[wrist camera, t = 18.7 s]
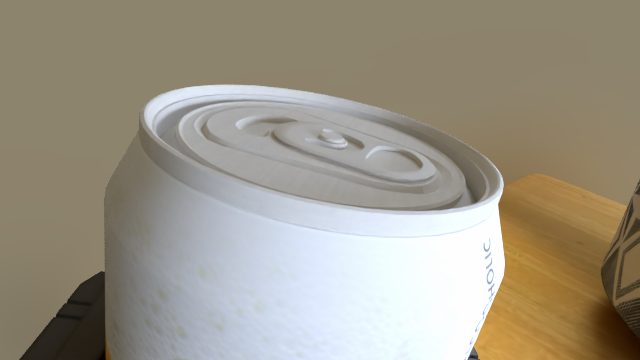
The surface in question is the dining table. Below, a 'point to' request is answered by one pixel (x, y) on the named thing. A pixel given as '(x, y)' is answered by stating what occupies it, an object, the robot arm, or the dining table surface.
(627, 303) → the planter
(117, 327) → the beer can
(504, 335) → the dining table surface
